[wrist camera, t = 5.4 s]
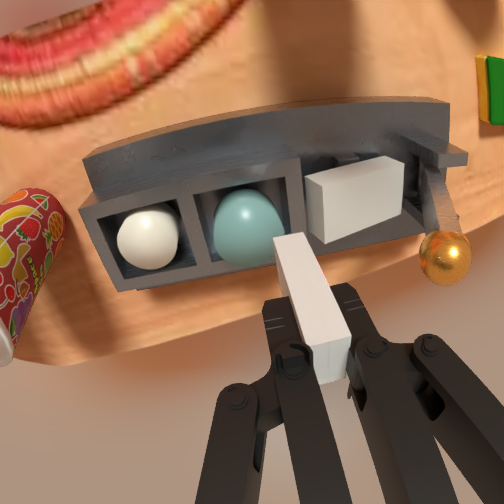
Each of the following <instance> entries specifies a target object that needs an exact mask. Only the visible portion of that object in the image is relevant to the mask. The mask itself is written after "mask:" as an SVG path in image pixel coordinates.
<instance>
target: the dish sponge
mask: <svg viewBox="0 0 504 504" xmlns="http://www.w3.org/2000/svg"><path fill="white" fill-rule="evenodd" d="M475 59H476V68H477V80H478V96H479V118H480V119H481V120H482V121H484V122H487V123H491V124H492V125H504V59H501V58H496V57H491V56H485V55H479V54H477V55H476V57H475Z"/></svg>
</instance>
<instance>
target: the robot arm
mask: <svg viewBox="0 0 504 504" xmlns="http://www.w3.org/2000/svg"><path fill="white" fill-rule="evenodd" d="M273 244H274V251H275V258H276V265H277V272H278V279H279V284H280V287H281V291H282V294H283V297H281V298H276V299H271V300H266V301H265V303H264V306H263V309H262V314H263V319H264V324H265V329H266V334H267V339H268V345H269V350H270V355H271V367H270V369H269V371H268V373H267V374H266V375H265V376H264V377H262V378H261V379H259V380H258V381H256V382H254V383H252V384H250V385H247V384H243V383H235V384H231V385H229V386H227V387H225V388H224V389H223V390H222V391H221V392H220V394H219V396H218V398H217V402H216V407H215V412H214V416H213V421H212V426H211V431H210V435H209V440H208V444H207V449H206V454H205V458H204V463H203V467H202V472H201V477H200V481H199V486H198V491H197V496H196V500H195V504H258V500H259V492H260V485H261V477H262V470H263V462H264V454H265V445H266V438H267V431H269V430H271V429H273V428H275V427H276V426H278V425H280V424H282V423H284V425H285V431H286V435H287V441H288V446H289V450H290V455H291V461H292V465H293V470H294V475H295V480H296V485H297V490H298V495H299V500H300V504H352V500H351V497H350V493H349V489H348V485H347V481H346V478H345V474H344V470H343V467H342V463H341V460H340V456H339V452H338V449H337V445H336V442H335V438H334V434H333V431H332V427H331V424H330V421H329V417H328V414H327V410H326V407H325V404H324V400H323V397H322V393H321V390H320V386H319V385H321V384H324V383H328V382H332V381H336V380H340V379H343V378H345V377H346V371H347V374H348V377H349V380H350V384H349V388H348V393H347V396H348V399H350V398H351V396H352V399H353V401H354V404H355V407H356V410H357V413H358V416H359V419H360V422H361V425H362V428H363V431H364V434H365V437H366V440H367V443H368V446H369V450H370V453H371V456H372V459H373V462H374V465H375V469H376V472H377V475H378V478H379V482H380V485H381V488H382V492H383V495H384V499H385V502H386V504H459V503H458V500H457V497H456V494H455V491H454V488H453V486H452V483H451V480H450V477H449V475H448V472H447V469H446V467H445V464H444V461H443V459H442V456H441V454H440V451H439V448H438V446H437V444H436V441H435V439H434V437H435V438H436V439H437V441H438V442H439V443H440V444H441V446H442V447H443V449H444V450H445V451H446V453H447V454H448V455H449V456H450V458H451V459H452V461H453V462H454V463H455V465H456V466H457V467H458V469H459V470H460V471H461V473H462V474H463V476H464V477H465V478H466V480H467V481H468V482H469V484H470V485H471V486H472V488H473V489H474V491H475V492H476V493H477V495H478V496H479V498H480V499H481V500H482V502H483V503H484V504H504V407H503V405H502V404H501V403H500V402H499V401H498V400H497V398H496V397H495V396H494V395H493V394H492V393H491V391H490V390H489V389H488V388H487V387H486V386H485V385H484V384H483V382H482V381H481V380H480V379H479V378H478V377H477V376H476V375H475V374H474V373H473V371H472V370H471V369H470V368H469V367H468V366H467V365H466V364H465V363H464V362H463V361H462V360H461V359H460V358H459V357H458V355H457V354H456V353H455V352H454V351H453V350H452V349H451V348H450V347H449V346H448V345H447V344H446V343H445V342H444V341H443V340H442V339H441V338H439V337H438V336H436V335H433V334H423V335H421V336H419V337H418V338H417V339H416V340H415V342H414V343H402V344H400V343H392V342H389V341H388V340H387V339H385V338H384V337H382V336H380V334H379V333H378V331H377V330H376V327H375V326H374V324H373V322H372V320H371V318H370V316H369V314H368V312H367V310H366V308H365V307H364V304H363V303H362V301H361V300H360V297H359V295H358V293H357V291H356V290H355V289H354V288H353V287H352V286H350V285H349V284H348V283H347V282H346V283H342V284H337V285H333V286H329V284H328V282H327V280H326V278H325V276H324V274H323V272H322V270H321V268H320V265H319V263H318V261H317V259H316V257H315V255H314V253H313V251H312V249H311V247H310V245H309V243H308V241H307V239H306V237H305V235H304V233H303V232H300V233H294V234H289V235H284V236H279V237H274V238H273ZM433 435H434V436H433Z"/></svg>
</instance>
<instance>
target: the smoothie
mask: <svg viewBox="0 0 504 504" xmlns="http://www.w3.org/2000/svg"><path fill="white" fill-rule="evenodd" d="M64 239H65V216H64V212H63V209H62V207H61V206H60V204H59V202H58V201H57V200H56V199H55V197H54V196H53V195H52V194H50V193H48V192H47V191H45V190H41V189H37V188H36V189H31V188H27V189H21V190H19V191H18V192H16V193H15V194H13V195H12V196H10V197H9V198H8V199H6V200H5V201H4V202H2V203H1V204H0V367H4V366H6V365H8V364H9V363H10V362H11V361H12V359H13V353H14V350H15V348H16V345H17V342H18V340H19V337H20V334H21V332H22V329H23V327H24V324H25V322H26V319H27V317H28V314H29V312H30V310H31V307H32V305H33V303H34V301H35V298H36V296H37V294H38V292H39V290H40V287H41V285H42V283H43V281H44V279H45V277H46V275H47V273H48V271H49V269H50V267H51V265H52V263H53V261H54V259H55V257H56V256H57V254H58V252H59V250H60V248H61V246H62V244H63V242H64Z"/></svg>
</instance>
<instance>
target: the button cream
mask: <svg viewBox="0 0 504 504" xmlns="http://www.w3.org/2000/svg"><path fill="white" fill-rule="evenodd" d="M179 232H180V221H179V218H178V215H177V214H176V212H175V211H174V210H173V208H172V207H170V206H169V205H168V204H166V203H164V202H159V203H155V204H151V205H147V206H143V207H139V208H135V209H132V210H130V211H129V212H128V214H127V216H126V218H125V220H124V222H123V224H122V226H121V228H120V230H119V232H118V236H117V244H118V248H119V251H120V253H121V254H122V256H123V257H124V258H125V259H126V260H127V261H128V262H129V263H131V264H132V265H134V266H136V267H139V268H142V269H158V268H161V267H163V266H165V265H167V264H168V263H169V262H170V261H171V260H172V259H173V258H174V256H175V253H176V250H177V244H178V238H179Z"/></svg>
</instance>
